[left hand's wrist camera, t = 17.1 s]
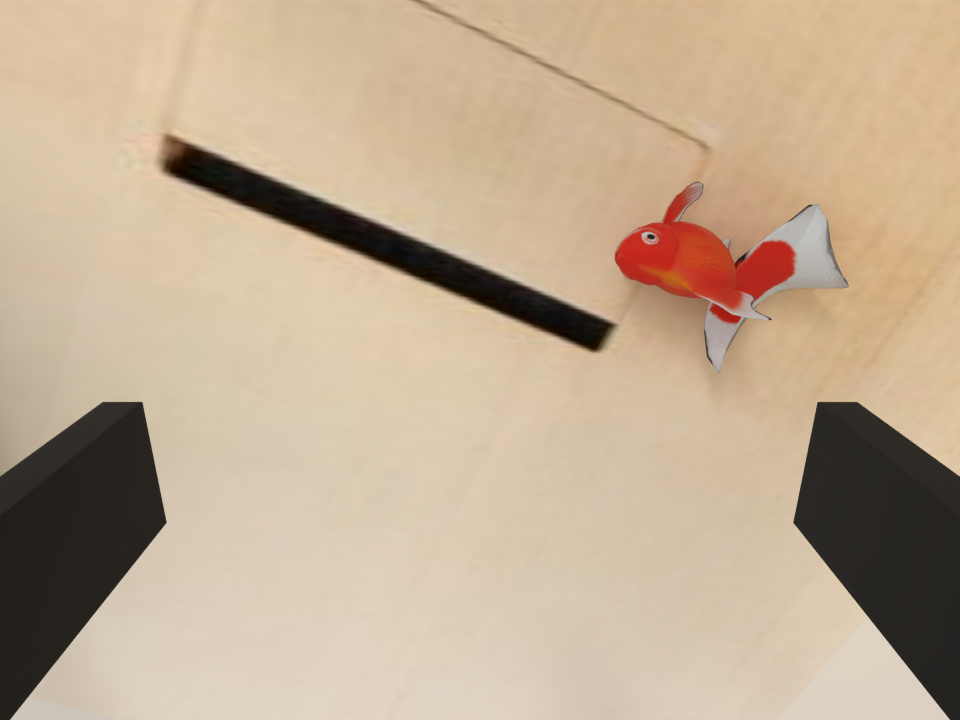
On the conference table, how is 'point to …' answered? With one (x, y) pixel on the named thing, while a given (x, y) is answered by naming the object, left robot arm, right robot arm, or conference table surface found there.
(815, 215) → the fish
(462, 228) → the conference table surface
